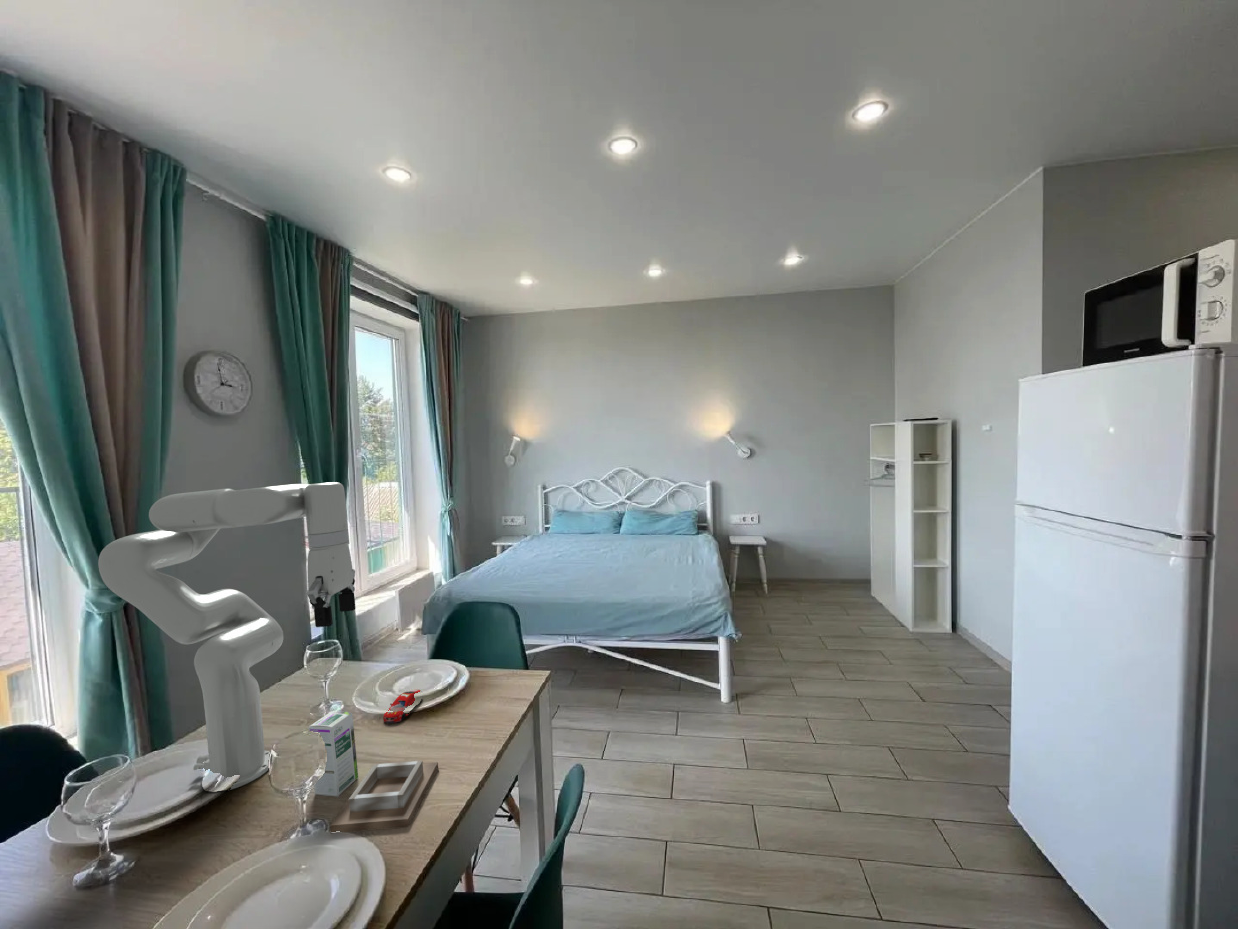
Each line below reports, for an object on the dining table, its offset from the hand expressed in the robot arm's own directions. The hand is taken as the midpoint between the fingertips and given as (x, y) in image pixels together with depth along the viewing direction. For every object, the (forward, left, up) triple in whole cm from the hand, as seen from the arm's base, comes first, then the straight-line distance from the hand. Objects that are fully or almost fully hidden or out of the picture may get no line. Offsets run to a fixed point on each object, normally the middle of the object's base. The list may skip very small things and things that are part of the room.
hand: (336, 618), depth 104 cm
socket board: (+13, -10, -34) cm, 38 cm away
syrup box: (0, -5, -34) cm, 34 cm away
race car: (+2, +24, -34) cm, 42 cm away
